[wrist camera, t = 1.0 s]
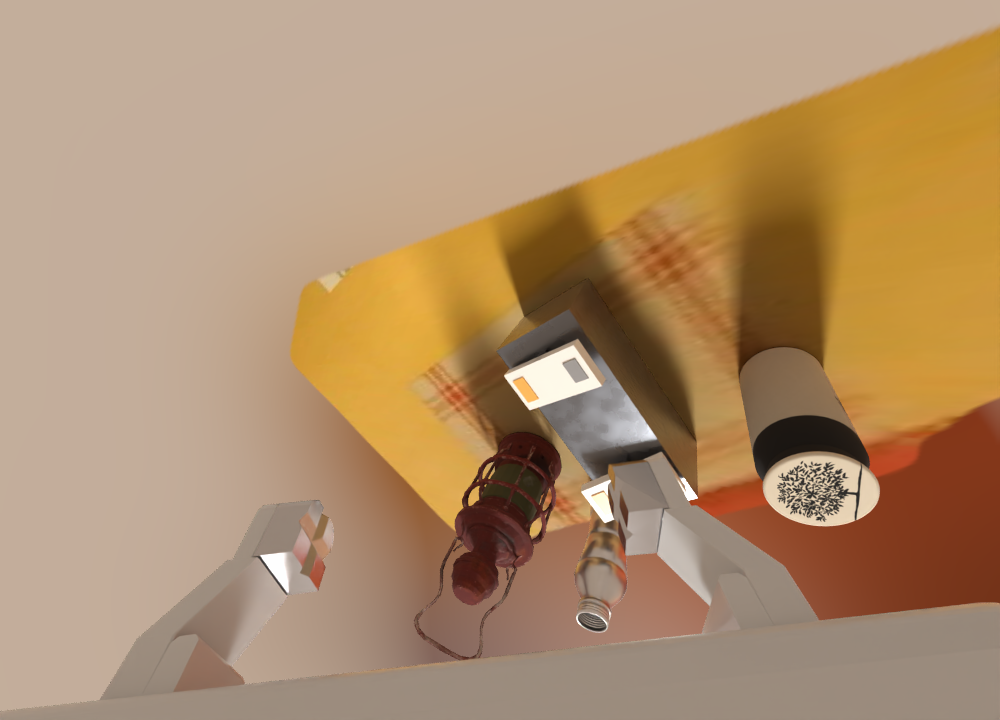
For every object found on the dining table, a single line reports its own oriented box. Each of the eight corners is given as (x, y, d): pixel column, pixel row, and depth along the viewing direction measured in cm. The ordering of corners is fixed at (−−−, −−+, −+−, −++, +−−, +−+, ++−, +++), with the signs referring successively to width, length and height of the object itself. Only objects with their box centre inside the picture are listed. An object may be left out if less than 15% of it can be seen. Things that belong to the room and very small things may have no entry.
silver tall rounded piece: (585, 490, 66) (551, 610, 50) (617, 472, 63) (592, 597, 46) (614, 517, 67) (590, 645, 51) (648, 501, 63) (634, 634, 47)
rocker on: (577, 338, 41) (572, 345, 40) (605, 379, 42) (601, 387, 41) (508, 369, 48) (503, 376, 47) (534, 403, 49) (528, 411, 48)
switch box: (588, 278, 50) (566, 313, 41) (696, 442, 55) (697, 504, 46) (522, 317, 56) (491, 355, 47) (626, 463, 61) (615, 522, 52)
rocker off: (661, 451, 46) (663, 459, 44) (684, 485, 46) (687, 493, 45) (581, 484, 50) (581, 492, 48) (604, 515, 51) (604, 523, 49)
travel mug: (734, 403, 51) (752, 518, 37) (744, 343, 47) (768, 445, 33) (814, 410, 48) (868, 538, 34) (830, 347, 44) (899, 461, 30)
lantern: (486, 466, 72) (384, 644, 48) (504, 414, 65) (395, 592, 41) (552, 498, 70) (480, 702, 46) (578, 449, 63) (509, 657, 39)
